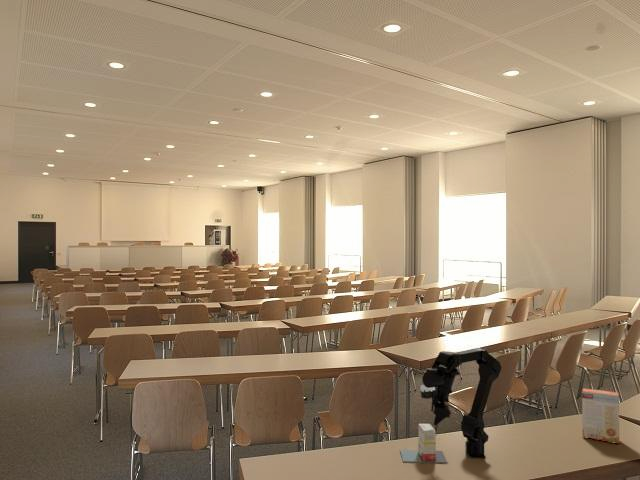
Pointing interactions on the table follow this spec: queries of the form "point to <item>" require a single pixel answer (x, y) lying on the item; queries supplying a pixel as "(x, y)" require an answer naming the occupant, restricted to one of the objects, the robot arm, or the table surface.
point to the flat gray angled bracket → (415, 458)
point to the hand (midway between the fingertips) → (433, 417)
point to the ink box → (427, 442)
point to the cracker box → (600, 415)
